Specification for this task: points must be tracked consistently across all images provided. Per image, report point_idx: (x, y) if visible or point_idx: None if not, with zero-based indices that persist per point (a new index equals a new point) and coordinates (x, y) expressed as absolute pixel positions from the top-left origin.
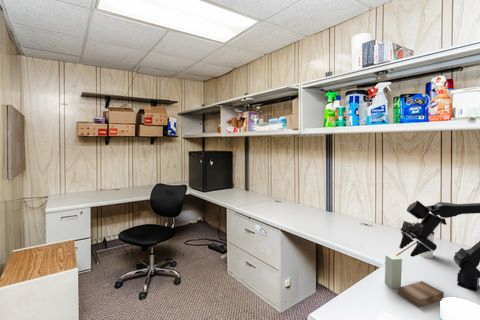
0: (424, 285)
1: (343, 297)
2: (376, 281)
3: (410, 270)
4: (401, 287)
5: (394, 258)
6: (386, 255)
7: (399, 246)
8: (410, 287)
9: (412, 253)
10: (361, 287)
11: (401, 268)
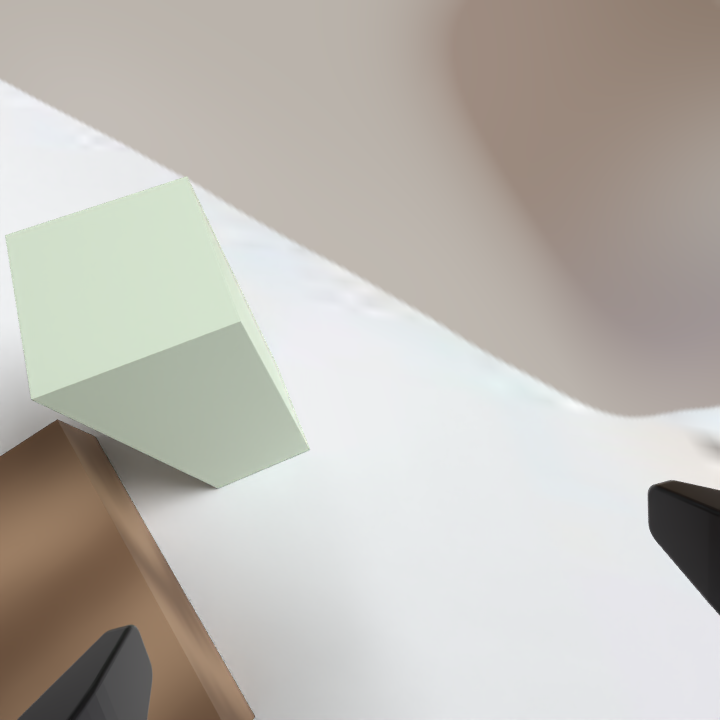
0: None
1: (33, 110)
2: (279, 309)
3: (665, 716)
4: (61, 447)
5: (49, 275)
6: (166, 183)
7: (690, 485)
8: (66, 540)
9: (44, 696)
10: None
11: (130, 444)
